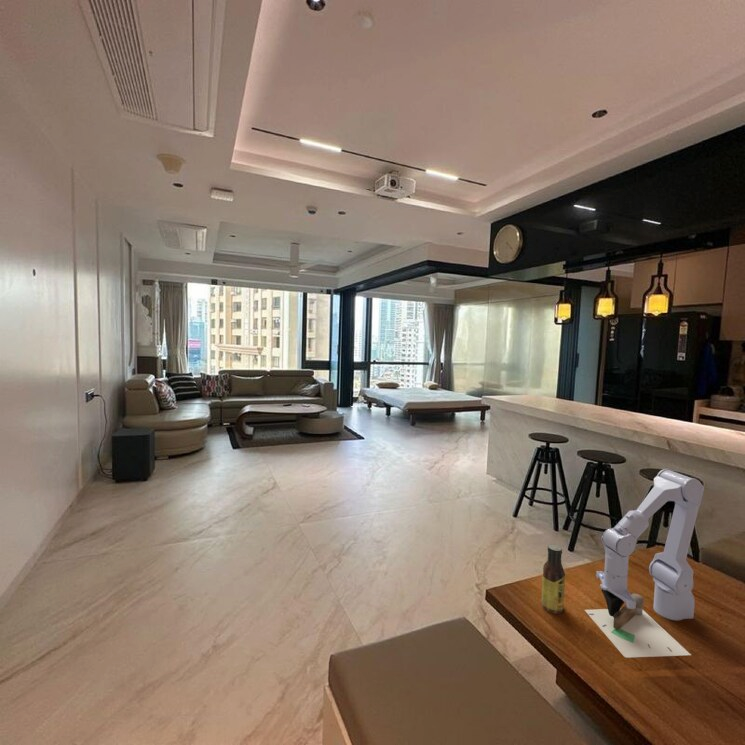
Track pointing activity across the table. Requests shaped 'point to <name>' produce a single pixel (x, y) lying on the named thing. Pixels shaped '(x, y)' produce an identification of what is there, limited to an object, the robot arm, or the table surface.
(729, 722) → the table surface
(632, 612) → the tuning lever
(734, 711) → the table surface
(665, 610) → the robot arm
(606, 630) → the tuner dial board
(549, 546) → the sauce bottle
